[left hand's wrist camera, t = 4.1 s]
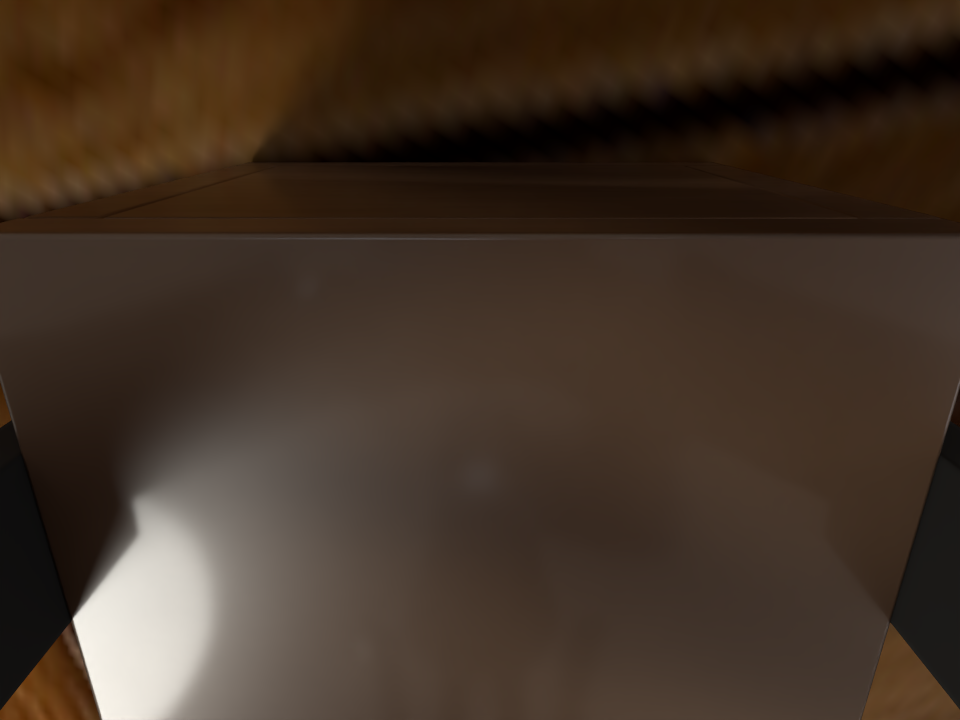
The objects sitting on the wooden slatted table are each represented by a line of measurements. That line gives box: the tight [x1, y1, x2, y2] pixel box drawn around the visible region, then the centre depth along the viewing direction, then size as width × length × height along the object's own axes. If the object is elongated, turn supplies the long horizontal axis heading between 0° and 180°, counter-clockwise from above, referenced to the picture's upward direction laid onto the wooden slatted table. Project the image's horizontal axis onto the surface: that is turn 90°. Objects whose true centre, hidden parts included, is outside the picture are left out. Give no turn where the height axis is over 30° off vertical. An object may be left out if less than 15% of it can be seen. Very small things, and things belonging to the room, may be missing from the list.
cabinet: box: [0, 162, 960, 720], centre depth 15 cm, size 20×12×10 cm, turn 0°
